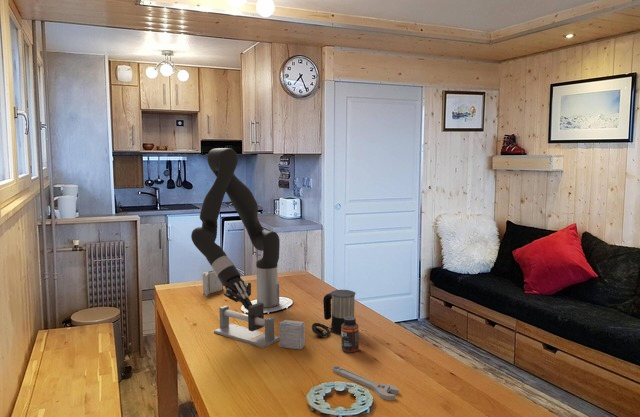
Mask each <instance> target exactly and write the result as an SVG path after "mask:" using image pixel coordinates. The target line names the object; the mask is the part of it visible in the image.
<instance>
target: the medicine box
mask: <svg viewBox="0 0 640 417" xmlns="http://www.w3.org/2000/svg"><path fill="white" fill-rule="evenodd" d="M305 331H306V330H305V322H304V321H298V320H289V319H284V320H283V321H281V322H280V323H279V337H280V340H279V347H280V348H285V349H286V348H287V349H293V350H294V349H295V350H299V351H300V350H302V349H303V348H304V347H305V345H306V343H305V341H306V339H305V338H306V337H305V336H306V332H305Z"/></svg>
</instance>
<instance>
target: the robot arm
mask: <svg viewBox="0 0 640 417" xmlns="http://www.w3.org/2000/svg"><path fill="white" fill-rule="evenodd" d="M206 158H207V159H206V160H207V164H208V166H209V168H210V170H211V171H212V173H213V174H214V176H215V178H216V179H215V181H214V182H213V184H212V186H211V187H210V189H209V191H208V192H207V193H206V195H205V197H204V199H203V202H202V205H201V208H200V213H199V219H200V221H201V222H202V223H201V226H198V227H195V228H194V229H193V230H192V231H191V236H190V238H191V241H192V243H193V245H194V246H195V248H196V249H197V250H198V251H199V252H200V253H201V254H202V255H203V257H205V260H207V262H208V263H209V265H210V267H211V268H212V270H213V271H214V273H215V274H216V276H217V277H218V279H219V280H220V282H221V283H222V285H223V287H225V291H224V292H223V296H225V297H226V298H228V299H230V300H232V301H233V302H235V303H238V302H239V303H241V304H242V306H243V307H244V309H246V310H247V311H248V306H251V305H253V302H251V300H250V298H249V297H250V296H251V295H252V283H251V282H248V283H247V282H245V281H244V280H243V279H242V278H241V273H240V272H239V270H238V269H237V267H236V266H235V264H234V263H233V261H232V260H231V259H230V258H229V257H228V255H227V253H226V252H225V251H224V249H223V247H221V246H220V245H218V243H216V239H217V235H218V220H219V216H220V212H221V208H222V204H223V200H224V197H225V195H226V194H227V196H228V198H229V200H230V202H231V204H232V206H233V208H234V209H235V211H236V213H237V214H238V216H239V218H240V220H241V223H242V224H243V225H244V227H245V229H246V232H247V234H248V238H249V239H250V242H251V244H252V246H253V247H254V248H255V249H256V250H257V251H262V258H259V259H257V260H256V261H255V262H256V263H255V264H256V266H255V267H256V268H255V269H256V270H255V271H256V272H255V273H256V304H257V303H264V307H269V308H274V307H277V306H280V284H279V282H278V274H279V273H278V263H279V259H280V248H281V246H280V244H281V243H280V236H279V234H278V233H277V232H276V231H273V230H268V229H265V228H263V226H262V225H261V222H260V221H259V218H258V214H259V213H258V212H259V206H258V203H257V200H256V199H255V196H254V193H252V191H251V190H250V188H249V187H248V186H247V185H246V184H245V183H244V182H243V181H242V180H240V178H238V177H237V176H236V175H235V171H236V169H237V166H238V162H239V158H238V154H237V152H236V150H234V149H233V148H230V147H229V148H228V147H224V148H223V147H221V148H220V147H218V148H212V149H211V150H209V152H208V153H207V157H206ZM276 305H277V306H276ZM273 306H274V307H273Z"/></svg>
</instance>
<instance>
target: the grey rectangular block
mask: <svg viewBox="0 0 640 417" xmlns="http://www.w3.org/2000/svg"><path fill="white" fill-rule="evenodd" d="M201 274H202V294H203V295H205V297H208V296H209V295H210V294H212V293H216V292H219V291H223V290H224V286H223V285H222V283H221V282H220V280H219V279H218V277H217V276H216V274H215V273H214V271H213V269H211V270H208V271H204V272H202V273H201Z"/></svg>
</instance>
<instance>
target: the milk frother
mask: <svg viewBox="0 0 640 417" xmlns="http://www.w3.org/2000/svg"><path fill="white" fill-rule="evenodd" d="M356 294H357V293H356V291H353V290H350V289H336V290H333V291H331V292H329V293H327V294H325V295H324V296H323V301H322V303H323V304H322V305H323V318H324V320H326V321H329V320H330V319H331V324H330V327H329V326H327V325H325V324H322V323H319V322H314V323H312V325H311V331H312V332H313V333H314V334H315V335H316V336H318V337H328V336H330V334H331V333H330V332H332V333H333V334H337V335H341V326H342V324H343V323H344V318H345V317H348V316H352V317H355V304H356V303H355V302H356V301H355V299H356V298H355V297H356V296H355V295H356ZM324 331H325V332H324Z"/></svg>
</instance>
